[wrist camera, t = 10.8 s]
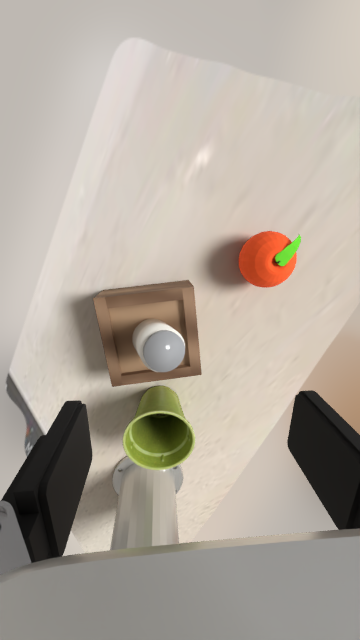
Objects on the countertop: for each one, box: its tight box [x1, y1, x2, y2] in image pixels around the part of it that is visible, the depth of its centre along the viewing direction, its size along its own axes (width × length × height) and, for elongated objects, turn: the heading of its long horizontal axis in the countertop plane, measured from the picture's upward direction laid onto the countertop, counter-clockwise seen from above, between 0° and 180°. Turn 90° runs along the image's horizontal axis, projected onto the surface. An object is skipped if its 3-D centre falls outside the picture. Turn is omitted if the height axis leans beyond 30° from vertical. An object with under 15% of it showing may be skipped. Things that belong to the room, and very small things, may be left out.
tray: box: [93, 280, 201, 387], centre depth 34 cm, size 12×12×6 cm
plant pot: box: [123, 386, 195, 470], centre depth 36 cm, size 9×9×9 cm
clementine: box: [239, 231, 301, 287], centre depth 31 cm, size 8×7×7 cm
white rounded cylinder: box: [132, 319, 185, 372], centre depth 29 cm, size 5×5×6 cm
